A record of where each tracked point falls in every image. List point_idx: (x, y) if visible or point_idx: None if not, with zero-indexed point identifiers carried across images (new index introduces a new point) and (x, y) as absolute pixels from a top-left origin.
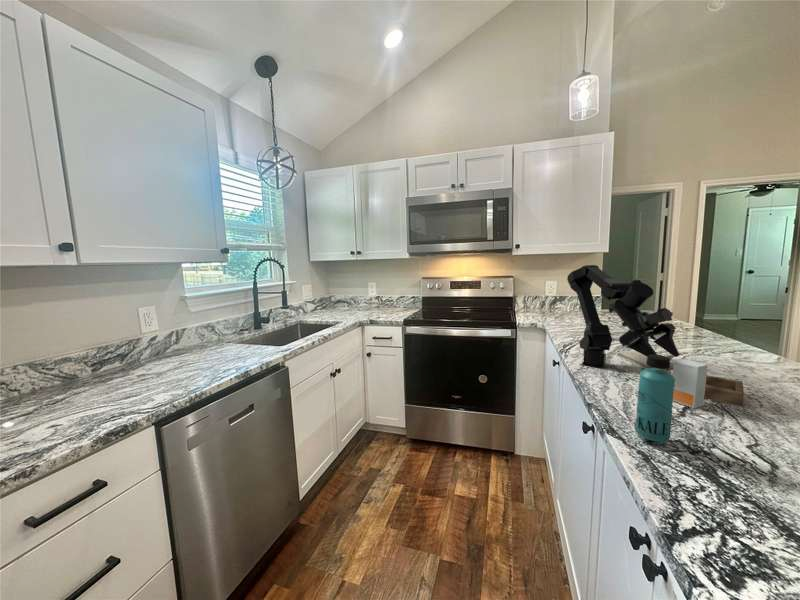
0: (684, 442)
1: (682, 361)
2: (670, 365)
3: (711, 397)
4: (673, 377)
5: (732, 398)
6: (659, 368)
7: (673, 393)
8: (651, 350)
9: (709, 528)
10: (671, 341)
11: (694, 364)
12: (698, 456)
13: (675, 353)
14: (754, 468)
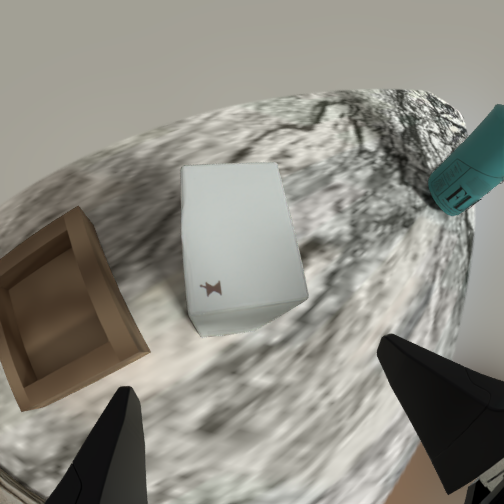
0: (398, 175)
1: (270, 259)
2: (6, 481)
3: (114, 283)
4: (500, 104)
5: (92, 235)
6: (39, 499)
7: (481, 122)
8: (459, 364)
9: (445, 119)
10: (89, 498)
11: (255, 191)
12: (402, 151)
13: (133, 411)
14: (354, 112)
